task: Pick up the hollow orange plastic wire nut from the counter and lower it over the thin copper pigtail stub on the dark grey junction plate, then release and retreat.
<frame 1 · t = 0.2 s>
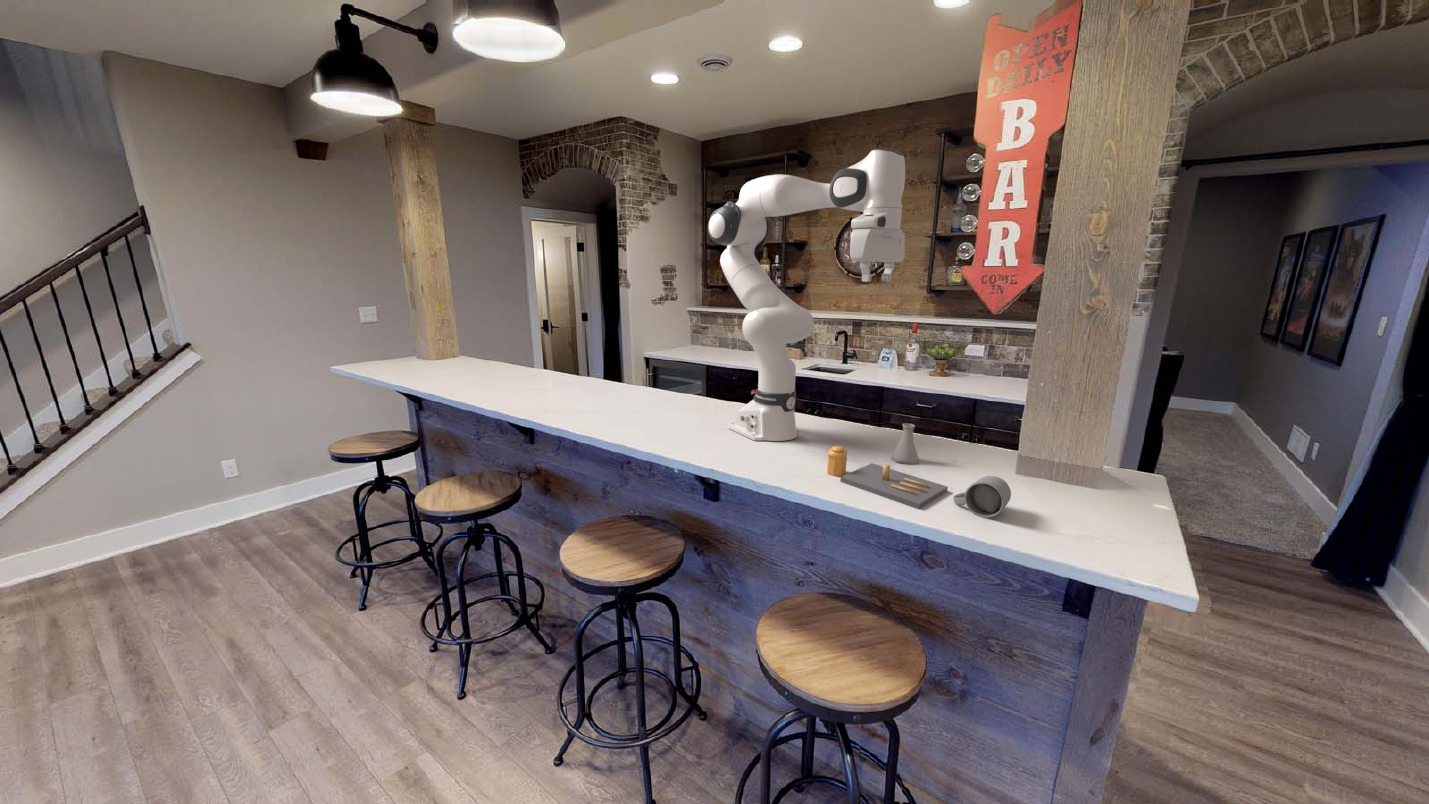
hand: (876, 281, 131), 47 cm above the table, fingers open, 8 cm apart
junction plate: (892, 486, 127), on the table
wire nut: (836, 472, 135), on the table
flask: (904, 460, 144), on the table
ceramic mug: (979, 510, 115), on the table
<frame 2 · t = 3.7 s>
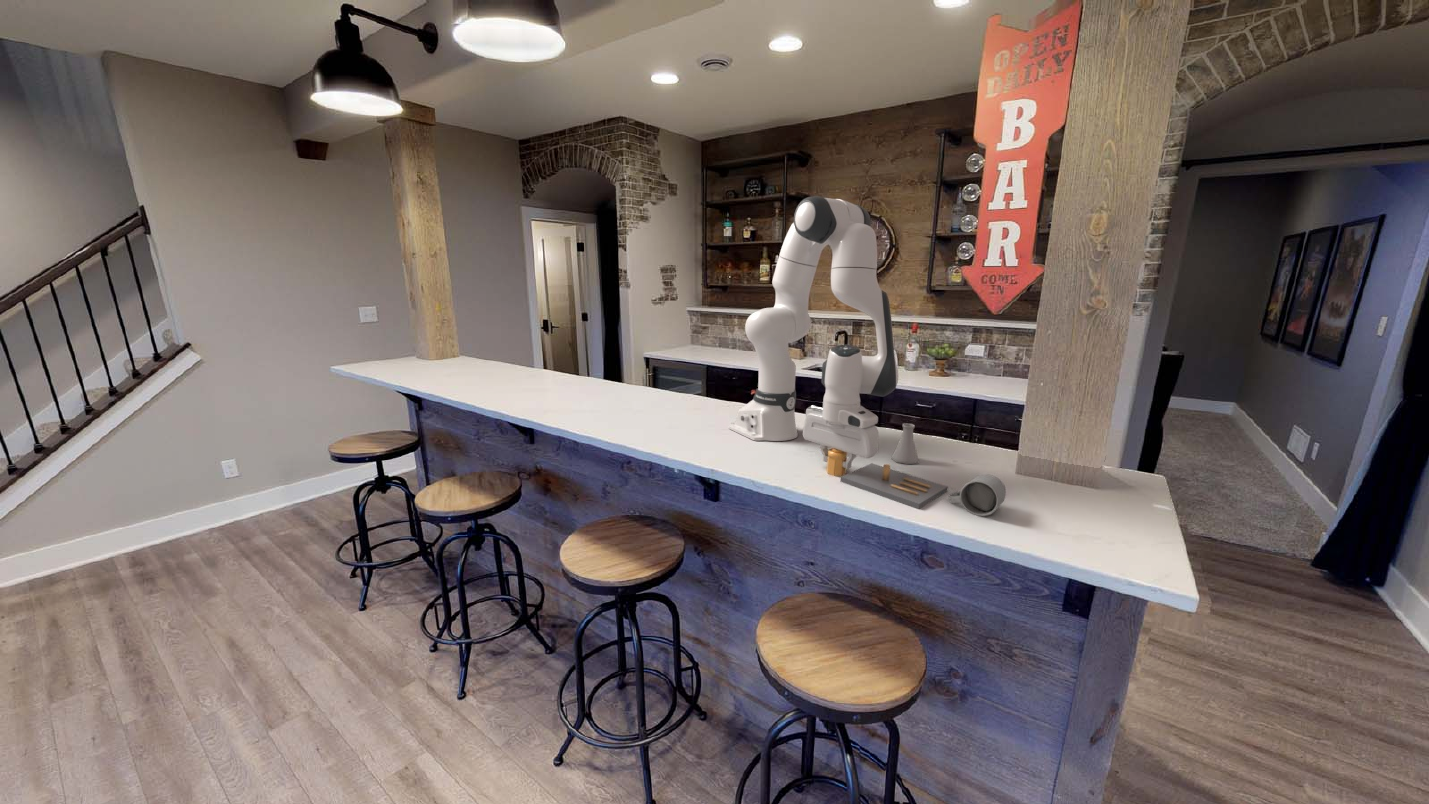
hand: (836, 464, 134), 2 cm above the table, fingers closed on wire nut, 4 cm apart
wire nut: (836, 472, 135), on the table, touching gripper
when the fingers open (6 cm above the table, at t = 8.4 s): wire nut drops 3 cm, resting on junction plate.
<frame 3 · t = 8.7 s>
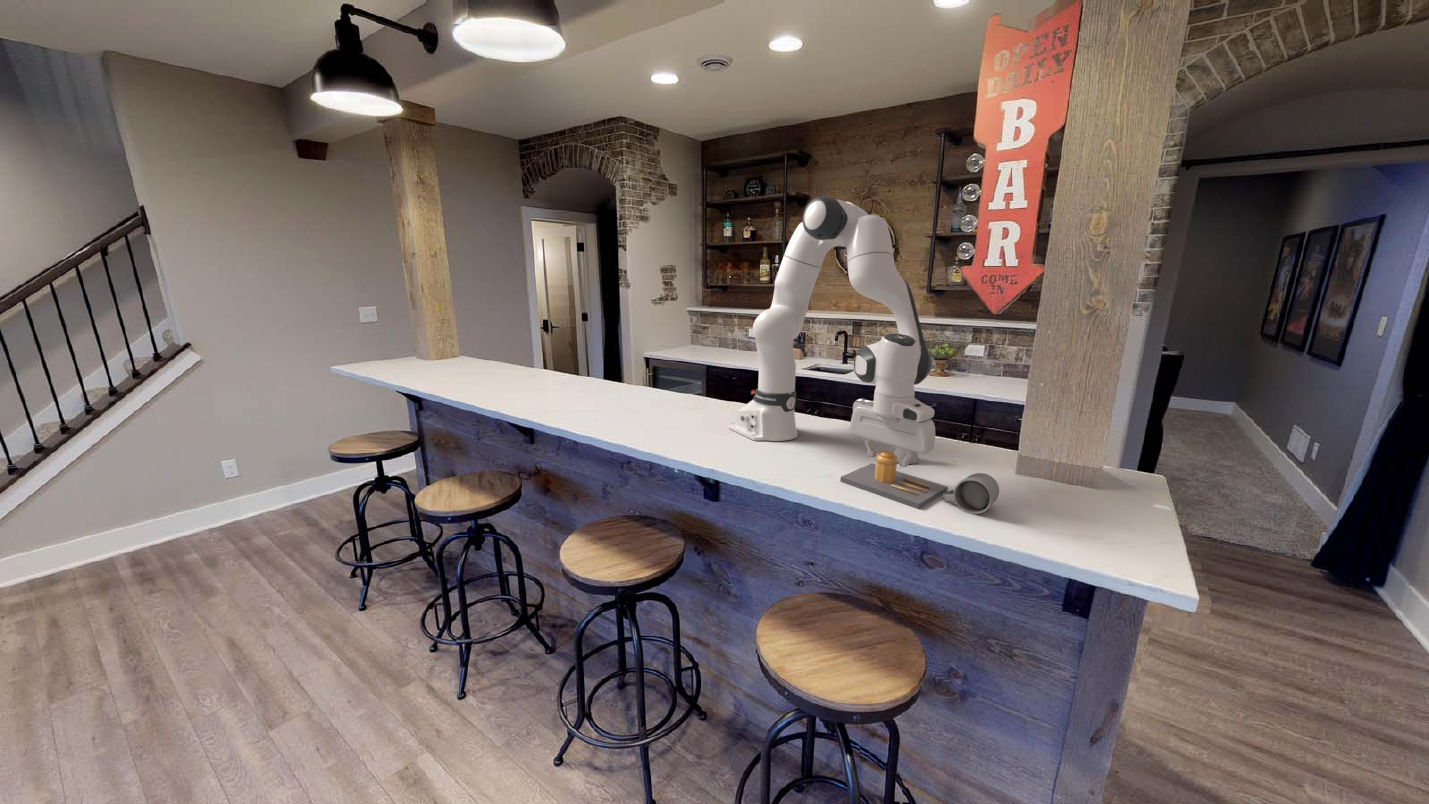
hand: (887, 461, 127), 6 cm above the table, fingers open, 7 cm apart
wire nut: (884, 478, 128), point 1 cm above the table, touching junction plate
ceramic mug: (968, 507, 117), on the table
everything else where it was.
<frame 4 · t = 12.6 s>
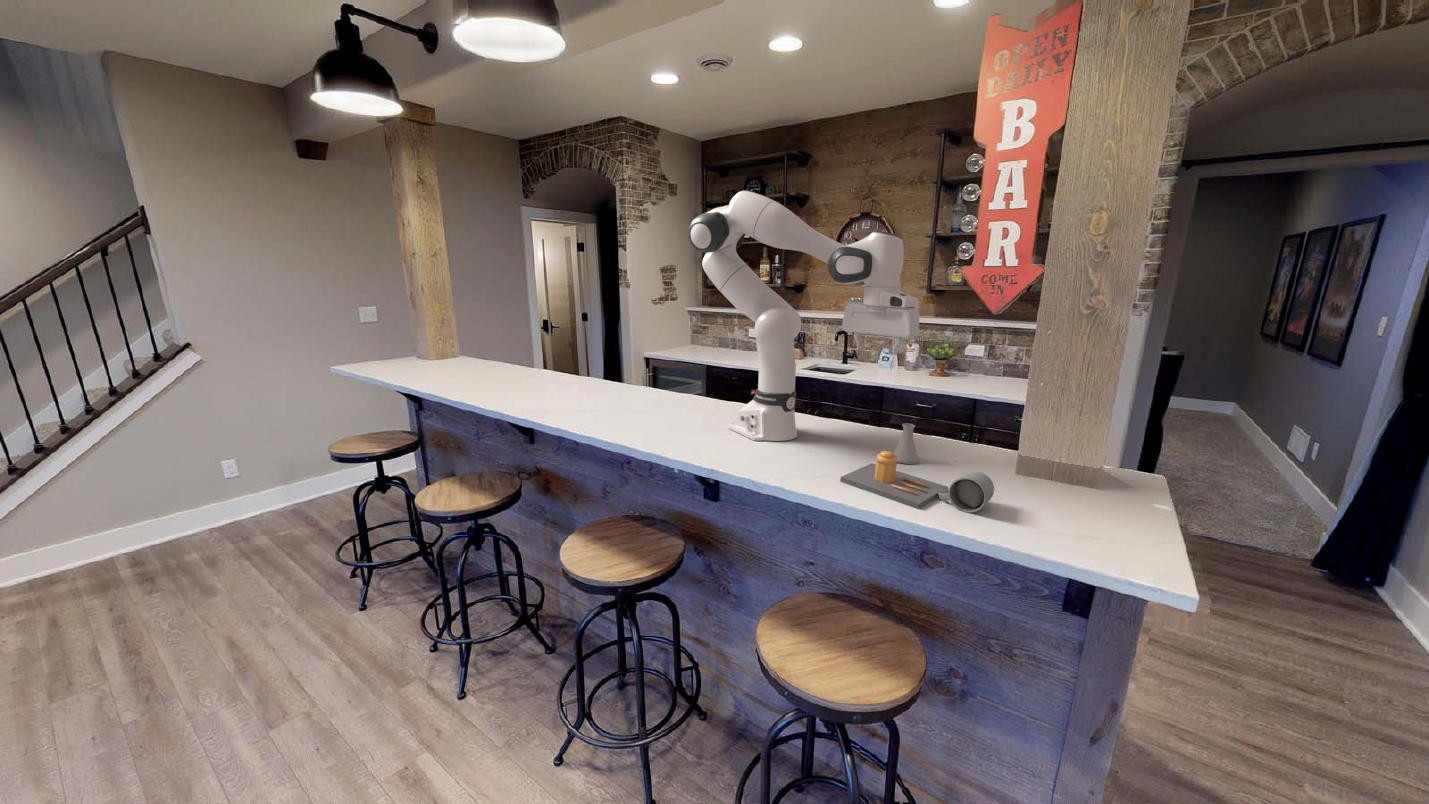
hand: (876, 352, 139), 29 cm above the table, fingers open, 8 cm apart
ceramic mug: (963, 505, 118), on the table
everything else where it was.
at the end: wire nut 0.2 cm from the target spot on the junction plate, point 1.2 cm above the junction plate's base; wire nut tilted 0°; the gripper is holding nothing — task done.
